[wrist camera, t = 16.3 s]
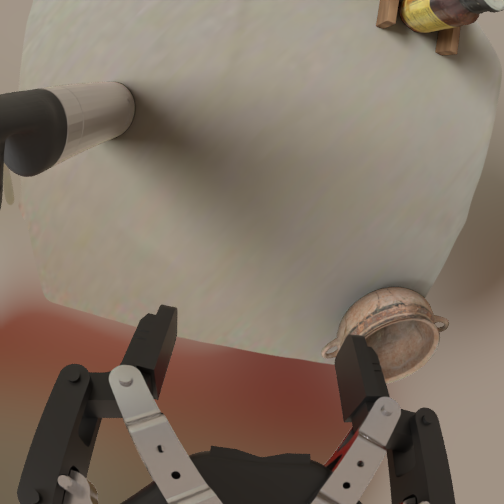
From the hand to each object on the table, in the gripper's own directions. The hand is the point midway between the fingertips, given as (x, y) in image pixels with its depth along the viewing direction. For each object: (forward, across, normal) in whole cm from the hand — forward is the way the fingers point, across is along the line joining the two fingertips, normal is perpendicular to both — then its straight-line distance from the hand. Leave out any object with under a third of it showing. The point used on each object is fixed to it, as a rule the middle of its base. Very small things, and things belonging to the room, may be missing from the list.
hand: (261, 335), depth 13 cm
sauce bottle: (+33, -17, -29) cm, 47 cm away
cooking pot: (+33, -27, +23) cm, 49 cm away
